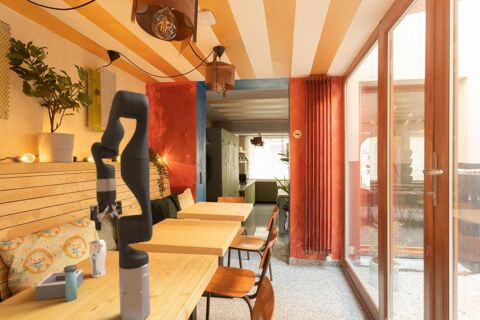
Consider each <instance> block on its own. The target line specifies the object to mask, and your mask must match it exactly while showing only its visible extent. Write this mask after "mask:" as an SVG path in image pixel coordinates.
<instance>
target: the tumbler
mask: <svg viewBox="0 0 480 320" xmlns="http://www.w3.org/2000/svg"><path fill="white" fill-rule="evenodd" d="M107 249H108V247H107V240H106V239H102V238H101V239H95V240H92V241H90V242H89V251H88V252H89V255H88V256H89V260H90V264H91V274H90V277H91V278H100V277H103V276H105V275H106V274H107V270H106V261H107V260H106V259H107V254H108V253H107V251H108V250H107Z"/></svg>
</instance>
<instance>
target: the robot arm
mask: <svg viewBox="0 0 480 320" xmlns="http://www.w3.org/2000/svg"><path fill="white" fill-rule="evenodd" d="M112 98H113V99H112V101H111V106H110V110H109V114H108V117H107V118H108V119H107V123H106V127H105V129H104V131H103V133H102V135H101V138H100V141H96V142H93V143H92V144H91V147H90V151H91V152H90V153H91V156H92V158H93V161H94V165H95V168H96V169H95V170H96V182H95V183H96V184H95V187H96V189H95V191H96V193H95V194H96V195H95V196H96V202H97V205H90V210H89V215H90V216H89V220H90V221H92V222H94V229H95V231H97V232H100V231H102V219H103V217H105V216H106V215H108V214H111V216H112V226H114V227H116V233H117V234H116V235H117V244H118V245H117V246H118V247H117V248H118V283H119V284H118V285H119V318H120V319H119V320H146V319H147V318H149V316H150V315H151V300H150V299H151V296H150V295H151V294H150V291H151V290H150V257H149V255H150V254H149V253H148V252H147V251H145V250H142V249H136V248H134V247H132V246H130V245H133V244H139V243H141V244H142V243H146V242H150V241H151V240H152V239H153V234H154V233H153V230H154V229H153V217H152V204H151V190H150V186H151V185H150V184H151V183H150V182H151V181H150V175H151V174H150V152H149V122H150V120H149V119H150V101H149V97H148V96H147V95H146V94H144V93H142V92H141V93H140V92H135V91H130V90H124V89H121V90H117V92H115V94H114V96H113V97H112ZM121 118H122V119H123V118H124V119H129V120H130V119H131V120H135V129H134V132H133V134H132V136H131V138H130V140H129V141H128V143H126V146H125V147H124V148H123V150H122V152H121V154H120V144H121V142H122V141H123V139H124V137H125V132H126V131H125V128H124V126H123V124H122V122H121ZM119 154H120V158H119V159H120V160H119V162H120V165H119V166H120V168H119V169H120V170H119V171H120V177H121V179H122V181H123V182H124V184H125V186H126V187H127V188H128V189H129V191H130V192H131V193H132V194H133V196H134V197H135V199H136V201H137V202H138V205H139V207H140V210H141V214H129V215H123V205H122V201H121V200H117V181H116V167H115V165H113V164H109V163H106V162H104V161H103V159H104V160H107V159H108V160H111V159H113V160H114V159H116V158H117V157H118V156H119ZM120 215H121V216H120Z"/></svg>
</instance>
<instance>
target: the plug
mask: <svg viewBox="0 0 480 320" xmlns="http://www.w3.org/2000/svg"><path fill="white" fill-rule="evenodd" d="M76 270H78V265H77V264H69V265H67V266H65V267H63V271H64V272H65V292H66V297H65V301H66V302H72V301H75V300H77V298H78V289H77V277H76Z"/></svg>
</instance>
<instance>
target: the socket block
mask: <svg viewBox="0 0 480 320" xmlns="http://www.w3.org/2000/svg"><path fill="white" fill-rule="evenodd" d="M76 277H77V290H78V289H79V288H80V287H81V285H82V284H83V283H84V270H83V269H77V270H76ZM34 292H35V293H34V294H35V295H34V296H35V301H40V300H41V301H42V300H51V299H59V298H60V299H61V298H66V292H65V272H64V270H63V271H54V272H50V273H49V274H48V275H47V276H45V277H44V278H43V279H41V280H40V281H39V282H38V283H37V284H35V286H34Z"/></svg>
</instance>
